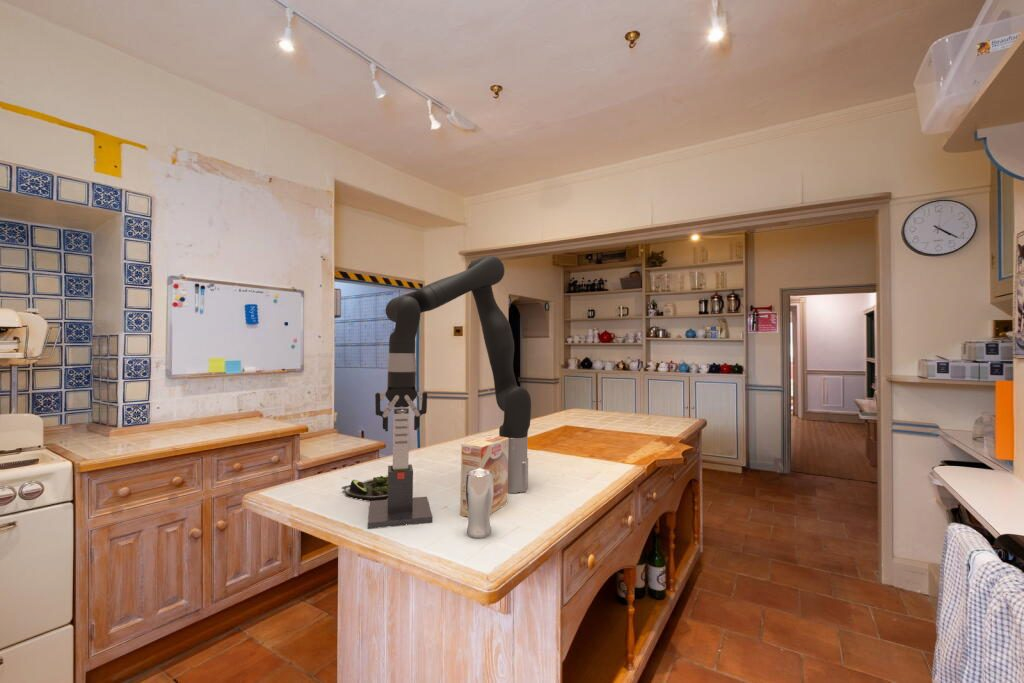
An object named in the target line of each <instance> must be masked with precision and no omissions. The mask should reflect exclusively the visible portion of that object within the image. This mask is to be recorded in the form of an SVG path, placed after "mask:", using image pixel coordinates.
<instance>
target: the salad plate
mask: <svg viewBox="0 0 1024 683" xmlns="http://www.w3.org/2000/svg"><path fill="white" fill-rule="evenodd" d="M340 489H342V490H344V492H345V494H346V496H347V497H348V496H349V497H348V498H350V497H353V498H352V499H354V498H357V499H356V500H359V499H362V500H361V501H364V500H369V501H368V502H370V501H377V500H385V499H386V500H388V474H386V475H385V476H383V475H380V476H376V477H373V478H372V479H366V480H364V481H359V480H357V479H352V480H351V483H350V484H349V485H345V486H341V487H340Z"/></svg>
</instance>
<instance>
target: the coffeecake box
mask: <svg viewBox="0 0 1024 683" xmlns="http://www.w3.org/2000/svg"><path fill="white" fill-rule="evenodd" d="M508 448H509V438H507V437H501V436H498V435H492V434H489V435H487V436H483V437H479V438H477V439H474V440H471V441H467V442H464V443H461V455H460V456H461V457H460V460H461V462H460V466H461V468H460V504H459V505H460V508H459V510H460V511H459V514H460V516H464V517H467V518H468V510H467V504H466V495H465V486H466V474H467V473H466V472H467V471H469V470H472V469H488V470H491V471H492V472H493V483H494V492H493V501H492V506H491V512H490V515H492V514H493V513H495V512H496V511H497V509H498V510H499V509H501V508H502V507H501V506H503V505H504V506H506V505H507V504H508V499H509V498H508V494H509V493H508ZM506 503H507V504H506ZM505 504H506V505H505ZM504 506H503V507H504ZM500 507H501V508H500ZM492 512H493V513H492Z"/></svg>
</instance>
